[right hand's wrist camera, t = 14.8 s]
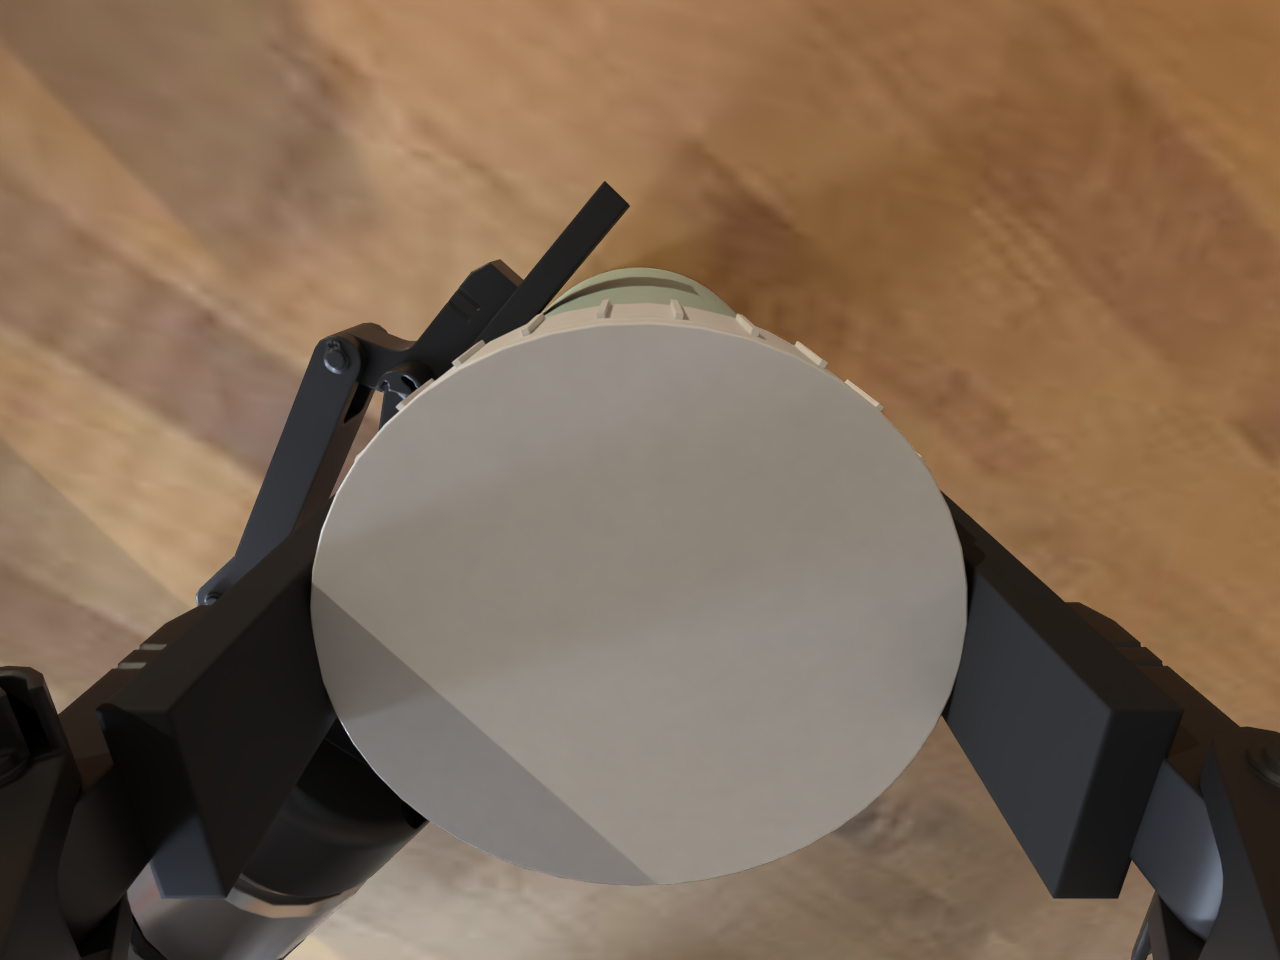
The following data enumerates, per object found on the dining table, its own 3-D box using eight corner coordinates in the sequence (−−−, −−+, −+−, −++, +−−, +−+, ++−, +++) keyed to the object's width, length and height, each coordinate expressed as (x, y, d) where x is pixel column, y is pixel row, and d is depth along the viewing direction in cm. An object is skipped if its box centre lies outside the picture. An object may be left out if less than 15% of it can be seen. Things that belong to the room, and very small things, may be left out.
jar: (519, 258, 24) (322, 322, 9) (774, 276, 24) (992, 367, 9) (518, 495, 27) (372, 829, 12) (743, 509, 27) (868, 853, 12)
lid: (240, 526, 12) (159, 588, 10) (718, 156, 10) (738, 140, 8) (587, 863, 15) (579, 965, 13) (1012, 633, 13) (1083, 712, 11)
